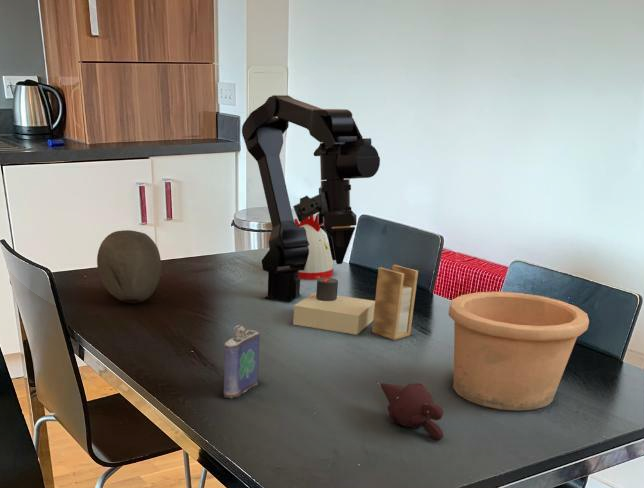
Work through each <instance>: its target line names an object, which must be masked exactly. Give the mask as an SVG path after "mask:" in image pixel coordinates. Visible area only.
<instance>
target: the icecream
mask: <svg viewBox="0 0 644 488" xmlns="http://www.w3.org/2000/svg"><path fill="white" fill-rule="evenodd" d="M379 387H380V388H381V390H382V392H383V393H384V396H385V397H386V399H387V401H388V405H387V409H386V410H387V411H388V418H390V419H391V420H392V421H393V423H394V424H396V425H401V426H402V427H407V428H411V429H418V428H421V427H423V428H424V430H425V432H427V434H428V435H429V436H430V437H431V438H433V439H434V440H436V441H441V440H442V439H443V438H444V431H443V429H442V428H441V426H440V425H439V424H437V423H436V422H435V421H439V420H441V419H442V418H443V416H444V414H445V412H444V409H443V408H442V405H440V404H438V403H435V401H434V399H433V396H432V394H431V392H430V391H429V390H428V389H427V387H425V386H424V385H423V383H420V382H416V383H408V384H406V385H399V384H393V383H386V382H381V383H380V386H379ZM433 420H434V421H433Z"/></svg>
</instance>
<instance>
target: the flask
mask: <svg viewBox="0 0 644 488" xmlns="http://www.w3.org/2000/svg"><path fill="white" fill-rule="evenodd" d="M233 329H234V330H236V332H235V335H234V336H233V337H231V338H230V339H228V340H227V341H226V342H224V345H223V397H225V398H227V399H228V398H229V399H234V398H238V397H240V396H241V395H242V394H244V393H246V392H248V390H251V388H252V387H253V388H254V387H255V386H257V385H258V384H259V378H258V377H259V364H260V363H259V359H260V358H259V357H260V340H261V334H260V332H259V331H257V330H254V329H247V328H245V327H244V326H243V325H240V324H238V325H235V326H234V328H233Z"/></svg>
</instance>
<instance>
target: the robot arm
mask: <svg viewBox="0 0 644 488" xmlns="http://www.w3.org/2000/svg"><path fill="white" fill-rule="evenodd" d="M289 123H291V124H294V125H297V126H299V127H301V128H304V129H306V130H307V131H308V132H309V135H310V136H311V137H312V138H313V139H315V140H316V141H317V142H318V143H319V145H318V147H317V148H316V149H315V150H314V152H313V156H314V157H319V167H320V186H319V187H318V194H316V195H314V196H312V197H309V196H308V195H305V196H303V197H300V198H299V203H297V204H295V205H293V206H292V205H291V201H290V196H289V193H288V188H287V184H286V183H287V182H286V178H285V174H284V170H283V166H282V160H281V155H280V154H281V152H282V149H283V145H284V134H285V133H286V131H287V130H288V128H289V125H290V124H289ZM241 134H242V135H241V136H242V139H243V140H244V144H245V147H246V149H247V152H248V153H249V154H250V155H251V156H252V158H253V159H254V160H255V161H256V162H257V166H258V171H259V174H260V180H261V183H262V184H261V185H262V187H263V192H264V196H265V201H266V205H267V210H268V215H269V219H270V223H271V228H272V229H271V232H270V235H269V238H268V248H269V250H268V251H267V252H266V254H265V255H264V257H263V258H262V259H261V267H262V270H263V271H264V272H267V276H268V277H267V294H265V295H264V299H267V300H273V301H280V302H286V303H291V302H293V301H294V300H296V299H298V298H299V297H300V296H301V279H300V278H299V277H298V274H299V270H304V269H305V266H306V262H307V259H308V255H309V247H308V246H309V242H308V240H307V235H306V230H305V228H304V227H298V226H297V225H296V223H295V221H294V219H295V218H294V214H293V211H292V208H293V210H294V212H295V216H296V219H297V221H298V223H300V222H301V221H303V220H306V219H307V217H310V216H312V215H313V216H315V215H317V214H318V224H322V223H323V224H322V225H319V227H320V230H321V231H323V232H324V233H325V234H326V239H327V242H328V244H329V247H330V251H331V256H332V261H335V263H336V265H342V264H343V262H344V259H345V256H346V254H347V251H348V249H349V245H350V243H351V240H352V237H353V235H354V232H355V230H356V226H358V225H357V224H358V223H357V214H356V213H355V212H354V211H353V210H352V206H351V191H352V184H350V180H353V179H368V178H369V179H370V178H372V177H374V176H375V175H376V174H377V173H378V171H379V169H380V165H381V157H380V155H379V152H378V150H377V149H376V147H374V146H373V145H372V138H370V137H369V138H363V135H362V134H361V132H360V130H359V127H358V126H357V123H356V121H355V119H354V118H353V113H352V111H351V110H350V109H345V108H321V107H318V106H316V105H313V104H310V103H308V102H305V101H301V100H299V99H297V98H296V99H295V98H294V97H292V96H290V95H289V94H284V95H283V94H282V95H280V94H279V95H278V94H277V95H276V94H274V95H271V96H268V98H267V99H266V101H265V102H264V103H262V105H260V106H259V107H257V108H256V109H254V110H252V111H251V112H250V114H249V115H248V116H247V118H246V119H245V121H244V122H243V124H242V127H241ZM291 206H292V207H291Z"/></svg>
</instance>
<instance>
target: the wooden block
mask: <svg viewBox="0 0 644 488" xmlns="http://www.w3.org/2000/svg"><path fill="white" fill-rule="evenodd" d="M316 292H317V291H315V292H313V293H311V294H307V295H306V296H307V297H305V298H303V299H302V300H300V301H299V302H297V303H296V304H294V305H293V321H292V322H293V323H292V324H293V325H295V326H301V327H307V328H313V329H318V330H324V331H330V332H337V333H343V334H344V333H345V334H349V335H355V336H356V335H357V336H358V335H359V334H360V333H362V331H363V330H364V329H366V327H368V326H369V325H370V324H371V323H373V318H374V308H375V300H372V299H364V298H357V297H351V296H344V295H339V294H337V299H336V300H333V301H323V300H319V299H317V298H316Z"/></svg>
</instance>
